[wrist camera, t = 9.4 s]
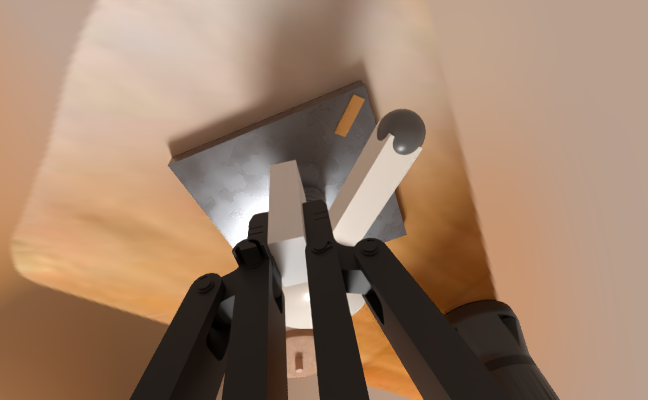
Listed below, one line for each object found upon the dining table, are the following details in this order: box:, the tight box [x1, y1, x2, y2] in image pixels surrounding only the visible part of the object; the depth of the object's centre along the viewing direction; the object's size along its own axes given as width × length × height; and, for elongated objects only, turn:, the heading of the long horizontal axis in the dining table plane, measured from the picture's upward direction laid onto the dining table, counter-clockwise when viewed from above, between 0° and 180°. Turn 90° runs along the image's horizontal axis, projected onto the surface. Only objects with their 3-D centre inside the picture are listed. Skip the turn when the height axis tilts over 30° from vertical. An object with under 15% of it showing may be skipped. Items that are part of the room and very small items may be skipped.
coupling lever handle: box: [282, 109, 426, 329], centre depth 24 cm, size 20×9×4 cm, turn 155°
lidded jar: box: [286, 326, 317, 378], centre depth 45 cm, size 11×11×9 cm
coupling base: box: [168, 80, 407, 248], centre depth 33 cm, size 20×20×10 cm
